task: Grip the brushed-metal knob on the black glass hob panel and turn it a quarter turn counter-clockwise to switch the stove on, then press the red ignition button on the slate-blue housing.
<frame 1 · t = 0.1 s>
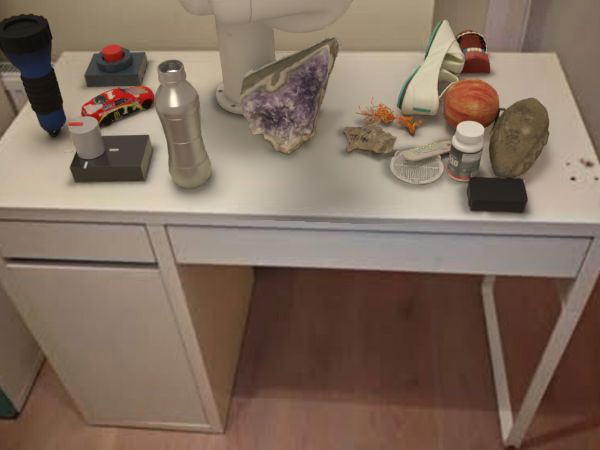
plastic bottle: (192, 180, 102), on the table
dragon: (389, 128, 111), on the table
stone: (519, 157, 103), on the table
ink cartridge: (525, 195, 95), point 1 cm above the table
white wedge shoe: (416, 65, 116), point 4 cm above the table, touching dental model
ignition button: (112, 53, 122), point 4 cm above the table, slide at 0.1 cm
hob panel: (114, 165, 105), on the table
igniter: (118, 74, 125), on the table
pill bottle: (461, 173, 101), on the table
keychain: (424, 145, 105), point 1 cm above the table, touching drain cover
dental model: (474, 66, 118), point 3 cm above the table, touching white wedge shoe
fruit: (442, 101, 106), point 5 cm above the table
stove knob: (87, 137, 101), point 6 cm above the table, hinge at 0.0°
artifact: (342, 130, 110), on the table
gemstone: (284, 78, 110), point 6 cm above the table
drain cover: (416, 168, 103), on the table, touching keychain
flashlight: (59, 134, 112), on the table
race car: (121, 112, 116), on the table
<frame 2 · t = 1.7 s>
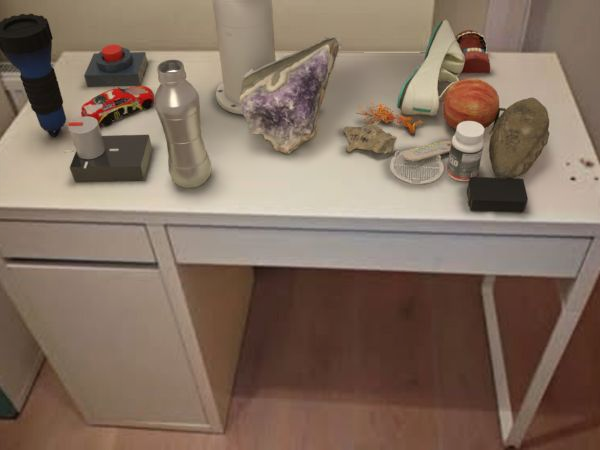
nothing on the table moved.
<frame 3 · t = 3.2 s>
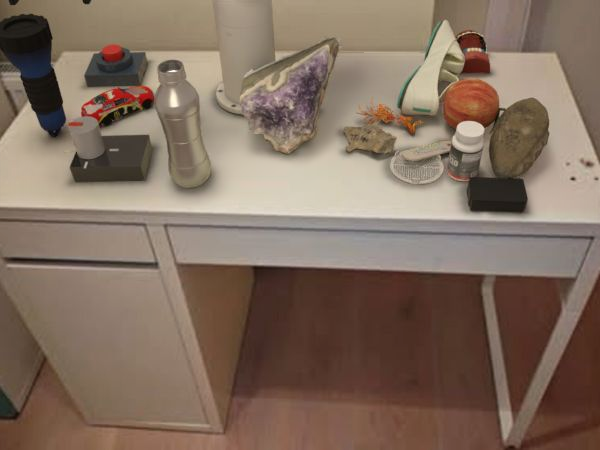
hand: (52, 0, 87), 27 cm above the table, tool pointing down, fingers open, 9 cm apart
nothing on the table moved.
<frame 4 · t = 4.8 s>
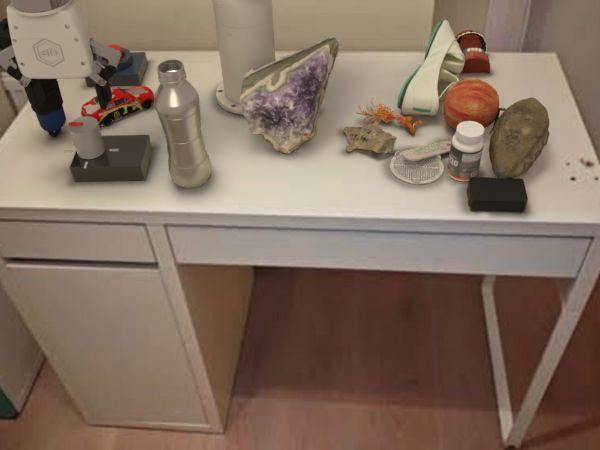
hand: (73, 105, 97), 12 cm above the table, tool pointing down, fingers open, 9 cm apart
nothing on the table moved.
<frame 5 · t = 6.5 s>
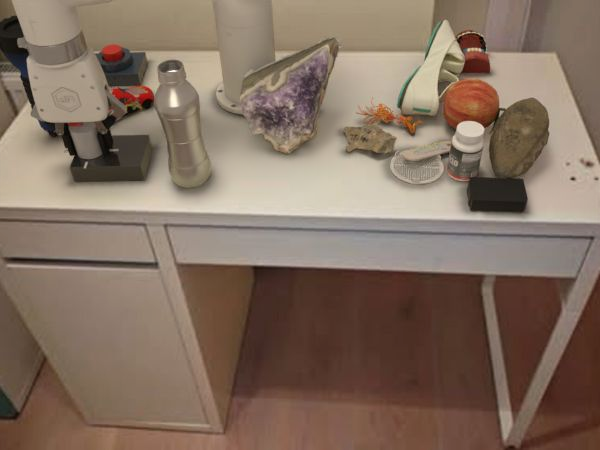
hand: (90, 149, 103), 3 cm above the table, tool pointing down, fingers closed on hob panel, stove knob, 4 cm apart
stove knob: (87, 137, 101), point 6 cm above the table, hinge at 0.0°, touching gripper
everything else where it was.
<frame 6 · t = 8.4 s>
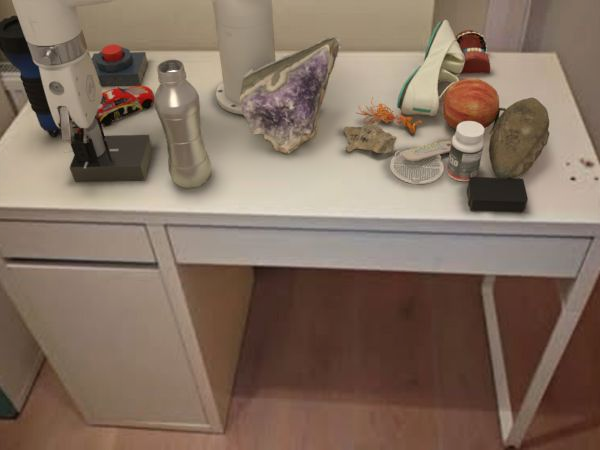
hand: (91, 149, 103), 3 cm above the table, tool pointing down, fingers closed on hob panel, stove knob, 4 cm apart
stove knob: (87, 137, 101), point 6 cm above the table, hinge at 90.9°, touching gripper
everything else where it was.
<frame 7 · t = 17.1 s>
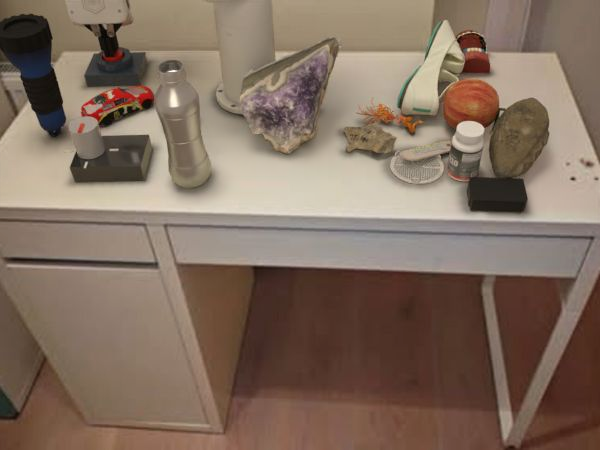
hand: (111, 53, 122), 5 cm above the table, tool pointing down, fingers closed
ignition button: (113, 57, 122), point 4 cm above the table, slide at -0.8 cm, touching gripper
stove knob: (87, 137, 101), point 6 cm above the table, hinge at 90.9°
everything else where it was.
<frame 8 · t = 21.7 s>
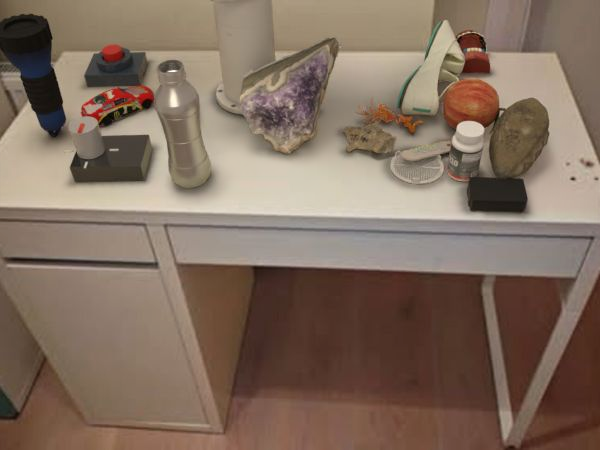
ignition button: (112, 53, 122), point 4 cm above the table, slide at 0.1 cm
everything else where it was.
at the end: stove knob at +91° (first picture: +0°); ignition button pushed in 0.9 cm at the most during the clip, back to where it started at the end; ignition button slide at 0.1 cm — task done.
